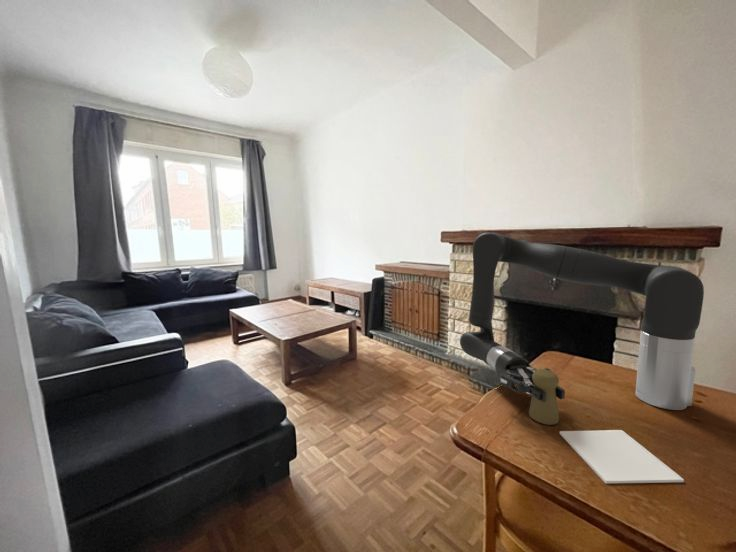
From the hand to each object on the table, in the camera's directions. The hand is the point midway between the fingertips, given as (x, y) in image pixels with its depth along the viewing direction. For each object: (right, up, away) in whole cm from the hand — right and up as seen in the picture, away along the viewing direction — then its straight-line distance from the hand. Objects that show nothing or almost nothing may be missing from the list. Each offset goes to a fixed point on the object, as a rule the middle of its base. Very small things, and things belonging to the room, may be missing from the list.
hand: (553, 396), depth 66 cm
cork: (0, -6, +4) cm, 7 cm away
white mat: (+6, -8, -8) cm, 13 cm away
